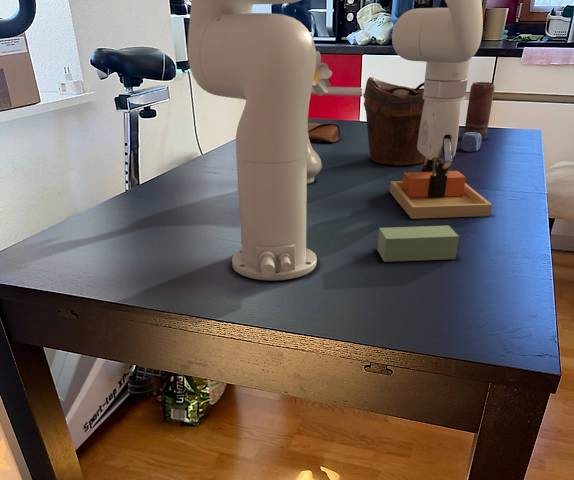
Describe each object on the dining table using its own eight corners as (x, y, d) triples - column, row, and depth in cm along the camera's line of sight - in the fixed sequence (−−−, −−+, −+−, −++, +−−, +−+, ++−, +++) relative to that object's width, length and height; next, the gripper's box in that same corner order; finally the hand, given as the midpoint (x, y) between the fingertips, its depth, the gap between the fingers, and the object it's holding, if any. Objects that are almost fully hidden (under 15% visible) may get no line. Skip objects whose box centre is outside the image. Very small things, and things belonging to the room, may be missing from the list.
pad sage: (455, 259, 87) (459, 236, 85) (383, 262, 86) (385, 238, 84) (445, 247, 91) (448, 225, 89) (377, 250, 91) (378, 227, 89)
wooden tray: (490, 216, 104) (492, 204, 103) (411, 218, 103) (412, 207, 102) (459, 189, 119) (460, 179, 118) (389, 191, 118) (390, 181, 117)
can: (458, 137, 163) (465, 82, 155) (475, 135, 165) (484, 81, 157) (472, 141, 158) (481, 84, 150) (490, 139, 160) (500, 83, 153)
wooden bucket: (454, 164, 137) (466, 79, 127) (380, 172, 131) (387, 84, 121) (414, 149, 151) (422, 72, 141) (345, 156, 145) (349, 76, 135)
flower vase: (333, 171, 133) (337, 45, 119) (322, 193, 118) (325, 52, 104) (278, 169, 135) (276, 46, 121) (260, 190, 120) (255, 52, 106)
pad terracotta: (463, 196, 112) (466, 177, 110) (407, 198, 112) (409, 179, 110) (455, 189, 116) (457, 170, 114) (401, 190, 116) (403, 172, 114)
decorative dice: (475, 152, 147) (478, 135, 145) (460, 150, 149) (462, 134, 147) (479, 149, 150) (482, 132, 148) (464, 147, 152) (467, 131, 150)
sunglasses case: (271, 138, 161) (274, 114, 161) (277, 148, 168) (280, 124, 168) (333, 142, 157) (337, 117, 157) (338, 151, 164) (341, 127, 164)
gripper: (412, 84, 111) (402, 181, 121) (437, 97, 96) (424, 206, 107) (450, 83, 111) (438, 180, 121) (481, 96, 97) (464, 204, 107)
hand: (432, 191), depth 114 cm, fingers closed on pad terracotta, 4 cm apart
